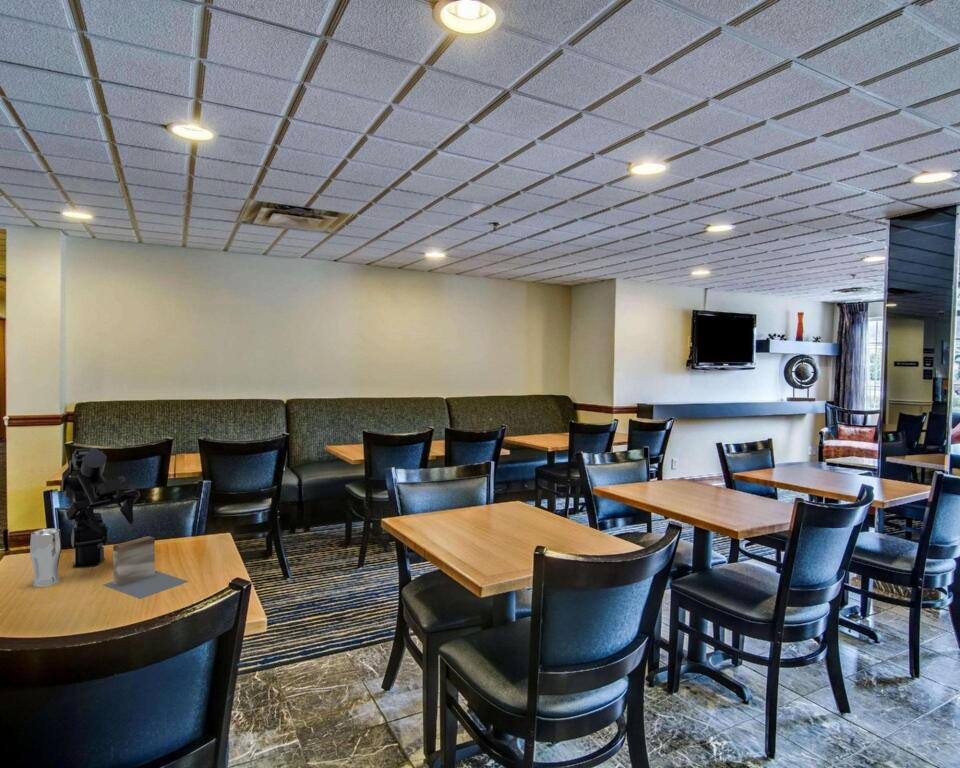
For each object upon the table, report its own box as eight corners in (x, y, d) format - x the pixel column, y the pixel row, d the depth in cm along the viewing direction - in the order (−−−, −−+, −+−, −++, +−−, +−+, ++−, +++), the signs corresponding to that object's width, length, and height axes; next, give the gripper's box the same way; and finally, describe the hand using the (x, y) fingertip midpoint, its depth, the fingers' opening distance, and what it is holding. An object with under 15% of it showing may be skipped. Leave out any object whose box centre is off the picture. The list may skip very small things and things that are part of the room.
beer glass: (67, 581, 164) (67, 529, 163) (41, 590, 157) (41, 536, 156) (50, 578, 166) (49, 526, 165) (24, 586, 159) (23, 533, 159)
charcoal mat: (102, 586, 161) (102, 584, 161) (151, 571, 173) (151, 569, 173) (140, 600, 152) (140, 598, 152) (189, 583, 164) (189, 581, 164)
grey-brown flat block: (113, 584, 161) (113, 545, 161) (148, 572, 170) (148, 536, 170) (119, 586, 160) (119, 547, 159) (154, 574, 169) (154, 537, 168)
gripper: (72, 474, 162) (95, 520, 158) (136, 463, 178) (159, 504, 174) (56, 497, 166) (78, 542, 162) (121, 484, 183) (142, 524, 179)
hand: (116, 527), depth 169 cm, fingers open, 9 cm apart
